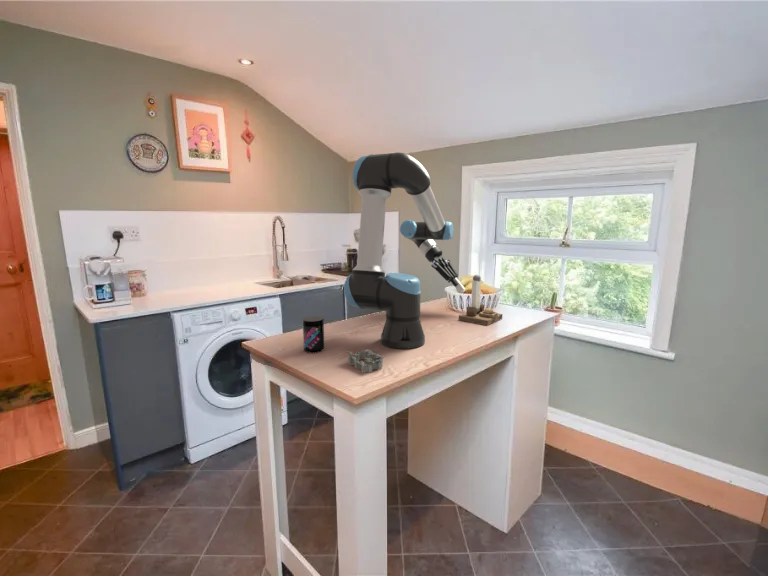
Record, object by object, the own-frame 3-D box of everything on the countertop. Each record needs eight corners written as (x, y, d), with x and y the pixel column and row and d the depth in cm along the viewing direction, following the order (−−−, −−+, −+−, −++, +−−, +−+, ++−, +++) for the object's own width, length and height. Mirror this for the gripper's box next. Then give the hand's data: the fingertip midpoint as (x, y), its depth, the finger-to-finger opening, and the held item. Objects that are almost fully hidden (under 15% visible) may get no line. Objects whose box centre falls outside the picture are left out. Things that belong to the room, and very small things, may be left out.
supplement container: (300, 349, 123) (298, 318, 121) (318, 345, 127) (317, 315, 125) (309, 354, 118) (308, 322, 116) (328, 350, 122) (327, 319, 120)
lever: (476, 314, 158) (477, 275, 155) (469, 313, 160) (470, 274, 157) (481, 312, 161) (483, 274, 158) (474, 311, 163) (476, 273, 160)
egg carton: (345, 363, 111) (344, 350, 110) (366, 358, 115) (366, 345, 115) (363, 375, 103) (363, 361, 102) (386, 369, 107) (386, 355, 106)
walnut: (490, 317, 154) (491, 309, 153) (482, 316, 156) (482, 307, 156) (494, 316, 157) (494, 307, 156) (486, 314, 159) (486, 306, 158)
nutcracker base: (487, 325, 150) (488, 312, 149) (458, 320, 158) (459, 307, 157) (502, 318, 160) (503, 306, 159) (474, 313, 169) (474, 301, 168)
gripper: (433, 255, 178) (464, 294, 171) (418, 257, 168) (449, 298, 161) (443, 244, 174) (475, 283, 166) (428, 246, 164) (460, 287, 156)
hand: (462, 291), depth 163 cm, fingers closed
